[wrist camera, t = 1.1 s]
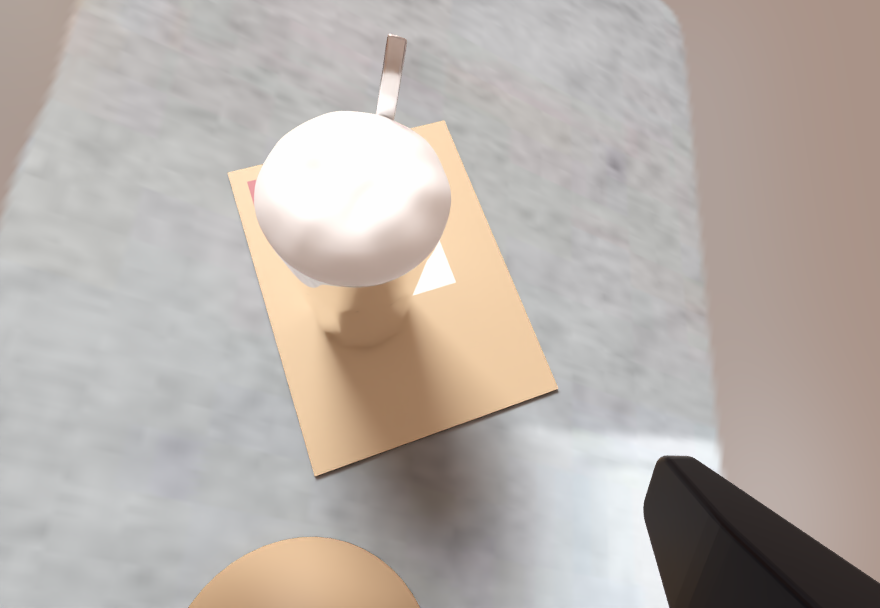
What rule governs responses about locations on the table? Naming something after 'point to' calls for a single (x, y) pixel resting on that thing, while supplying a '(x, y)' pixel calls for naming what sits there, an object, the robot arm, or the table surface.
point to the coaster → (307, 578)
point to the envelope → (405, 337)
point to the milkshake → (355, 212)
